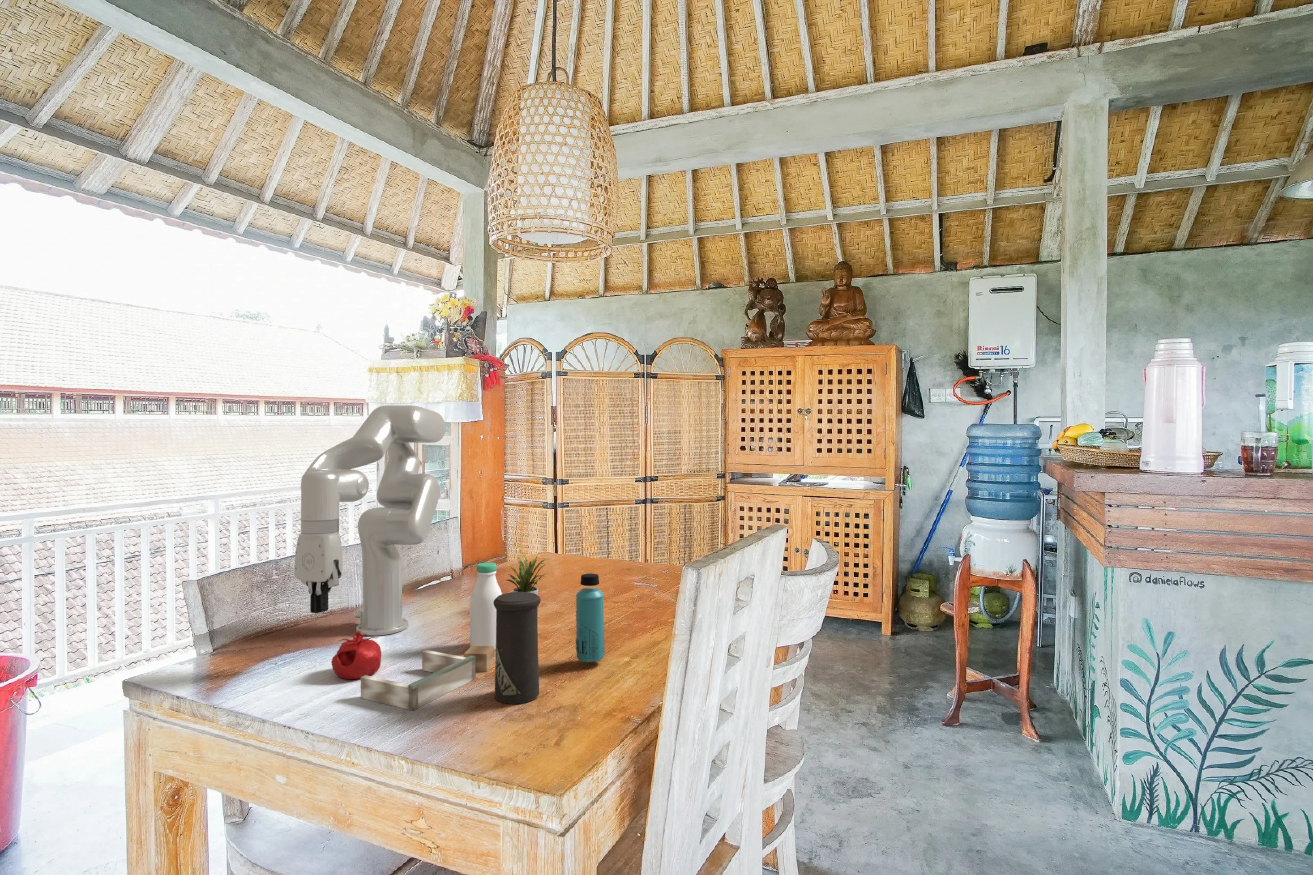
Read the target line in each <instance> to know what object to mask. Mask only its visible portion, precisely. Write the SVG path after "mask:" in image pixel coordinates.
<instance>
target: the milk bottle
mask: <svg viewBox="0 0 1313 875" xmlns="http://www.w3.org/2000/svg"><path fill="white" fill-rule="evenodd" d="M475 570H476V575H477V577H476V578H477V579H476V582H475V584H474V587H473V590H472V591H471V595H470V600H469V602H470V603H469V648H470V647H471V646H494V652H496V608H495V606H494V604H493V603H494V600H495V599H496V598H497V597H498V596H499V595H502V594H503V593H502V590H501V587H500V585H499V584H498V580H497V577H496V574H497V564H496V563H495V562H481V563H480V562H479V563H478V564H477V565H476V569H475Z"/></svg>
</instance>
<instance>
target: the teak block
mask: <svg viewBox="0 0 1313 875" xmlns="http://www.w3.org/2000/svg"><path fill="white" fill-rule="evenodd" d="M469 656H476V673H477V672H479V673H486V672H488V671H489V670H490V669H491V667H493V666H494V665H495V651H494V646H471V647H470V646H469V648H468V649H467V650H466V651H465V652H464V653H463V657H466V658H467V657H469Z"/></svg>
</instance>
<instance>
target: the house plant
mask: <svg viewBox="0 0 1313 875" xmlns="http://www.w3.org/2000/svg"><path fill="white" fill-rule="evenodd" d="M520 555H521V554H520ZM521 557H522V559H523V561H522V560H521V558H520V557H517V563H518V571H519V572H518V571H517V570H516V568H514V567H513V566H512V565H510V564H508V563H507V562H505V561H503V563H505V564H506V565H508V567H510V569H511V570H512V571H513V572H514V573H515V575H516V577H515V576H513V575H512V574H509V573H508V576H509V577H510V578H511V579H505V581H507V582H510V583H512V584H513V585H515V586H516V587H514V588H513V590H512V592H531V593H535V594H537V595H538V596H539V594H538V593H539V588H538V587H537V586H538V583H541V582H540V581H541V579H542V577H543V578H545V579H546V578H547V577H546V576H545V575H548V574H549V572H546V573H544V574H539V572H540V570H541V569H542V568H543V567H545V566H547V565H549V563H544V562H545V561H547V560H550V559H551V557H549V558H544V559H542V560H540V562H538V563H537V561H538V560H537V559H538V556H535V557H534V558H533V559H532V560H531V561H529V562H528V559H527V557H526V555H525V554H524V553H522V555H521ZM536 564H537V565H536ZM535 565H536V566H535ZM540 565H542V566H540ZM538 568H539V569H538ZM537 569H538V570H537ZM536 570H537V572H536ZM535 572H536V573H535ZM534 574H535V575H534ZM533 575H534V576H533ZM536 578H537V579H536ZM535 585H536V586H535Z"/></svg>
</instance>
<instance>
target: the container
mask: <svg viewBox="0 0 1313 875" xmlns="http://www.w3.org/2000/svg"><path fill="white" fill-rule="evenodd" d="M540 603H541V597H540V596H539V594H538V595H537V594H535V593H531V592H513V591H512V592H506V593H502V595H499V596H498V597H497V598H496V599H495V600H494V603H493V604H494V606H495V608H496V650H495V660H494V665H495V666H494V667H495V669H494V670H495V672H494V698H495V699H496V700H497V701H498V702H500V703H504V704H511V705H515V704H517V705H518V704H525V703H529V702H531V701H534V700H535V699H537V698H538V696H540V695H539V694H540V680H539V679H540V675H539V674H540V673H539V637H538V636H539V633H538V628H539V627H538V625H539V624H538V623H539V621H538V618H539V617H538V612H539V610H538V608H539V605H540Z"/></svg>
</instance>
